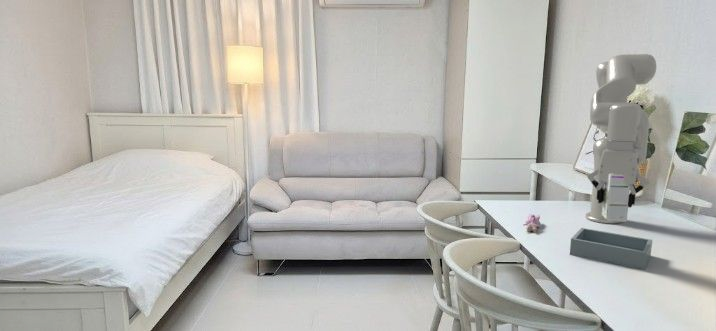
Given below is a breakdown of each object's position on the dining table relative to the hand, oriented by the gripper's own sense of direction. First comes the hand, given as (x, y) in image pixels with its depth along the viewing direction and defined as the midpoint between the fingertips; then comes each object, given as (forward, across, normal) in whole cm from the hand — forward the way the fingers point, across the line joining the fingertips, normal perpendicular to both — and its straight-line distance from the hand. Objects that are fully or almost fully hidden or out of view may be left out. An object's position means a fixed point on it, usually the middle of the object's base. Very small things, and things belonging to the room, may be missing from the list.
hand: (614, 204), depth 141 cm
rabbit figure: (+16, +28, -14) cm, 35 cm away
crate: (+16, 0, 0) cm, 16 cm away
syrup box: (+5, 0, 0) cm, 5 cm away
